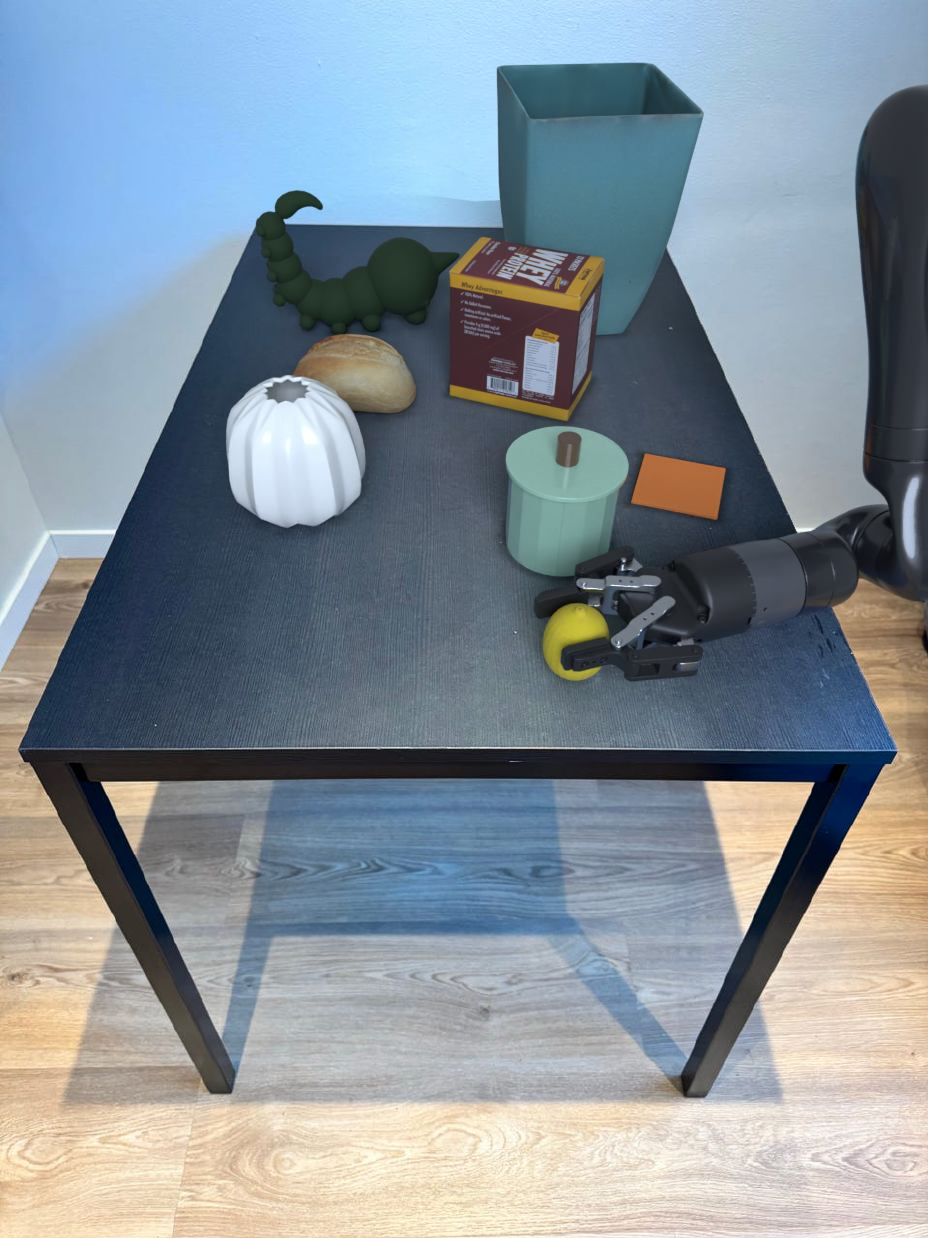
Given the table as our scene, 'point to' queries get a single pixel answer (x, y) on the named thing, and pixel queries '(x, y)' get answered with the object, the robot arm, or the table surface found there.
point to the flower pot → (595, 168)
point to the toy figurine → (349, 275)
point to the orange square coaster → (679, 486)
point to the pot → (557, 530)
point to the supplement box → (523, 326)
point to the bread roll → (361, 372)
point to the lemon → (572, 636)
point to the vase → (294, 452)
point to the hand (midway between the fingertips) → (549, 633)
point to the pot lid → (567, 464)
